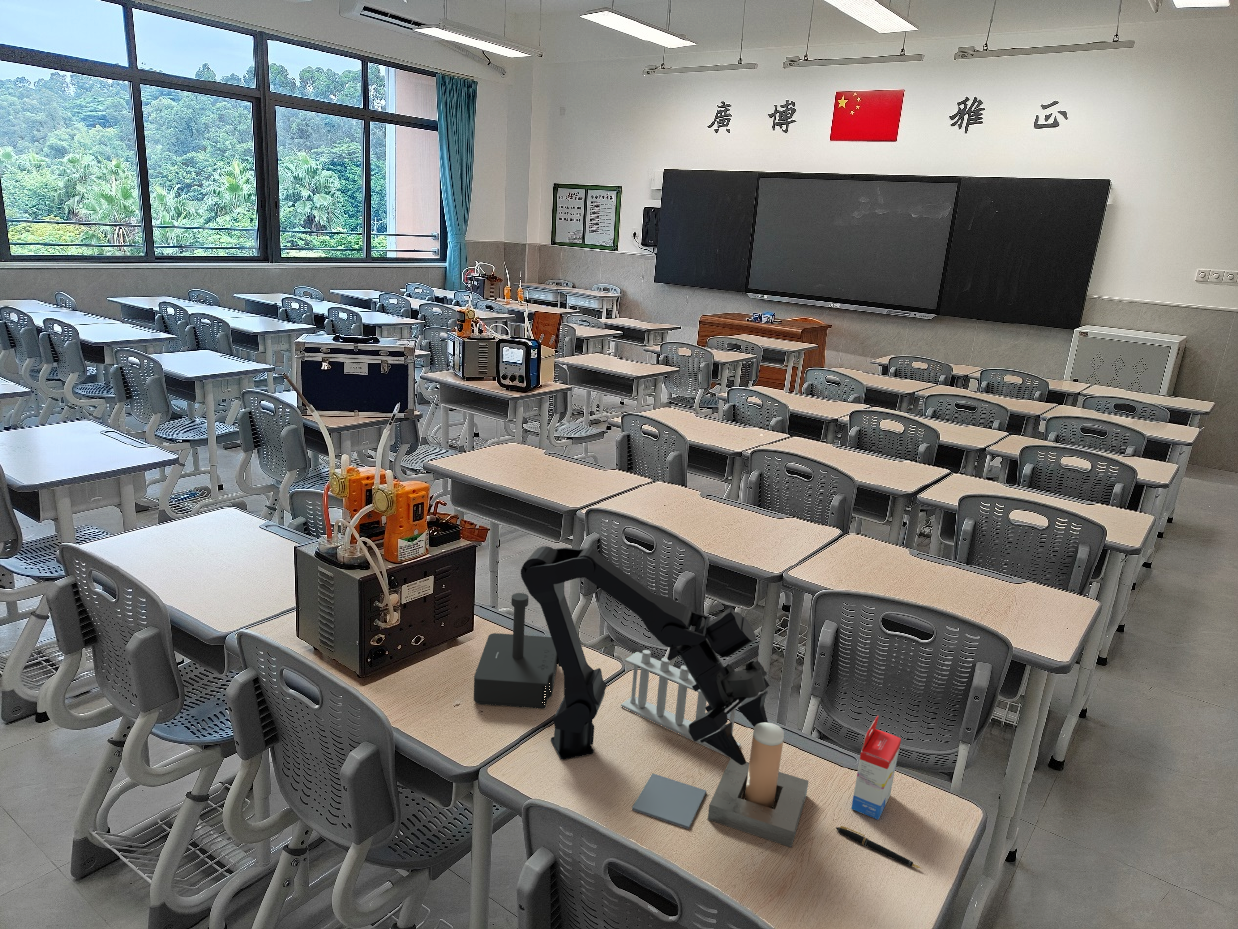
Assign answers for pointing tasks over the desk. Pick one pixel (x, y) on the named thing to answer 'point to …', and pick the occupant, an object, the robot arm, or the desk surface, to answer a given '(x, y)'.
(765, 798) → the tan peg
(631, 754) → the desk surface
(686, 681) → the test tube rack
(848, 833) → the fountain pen
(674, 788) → the slate mat
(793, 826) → the bore housing
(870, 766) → the ink box
